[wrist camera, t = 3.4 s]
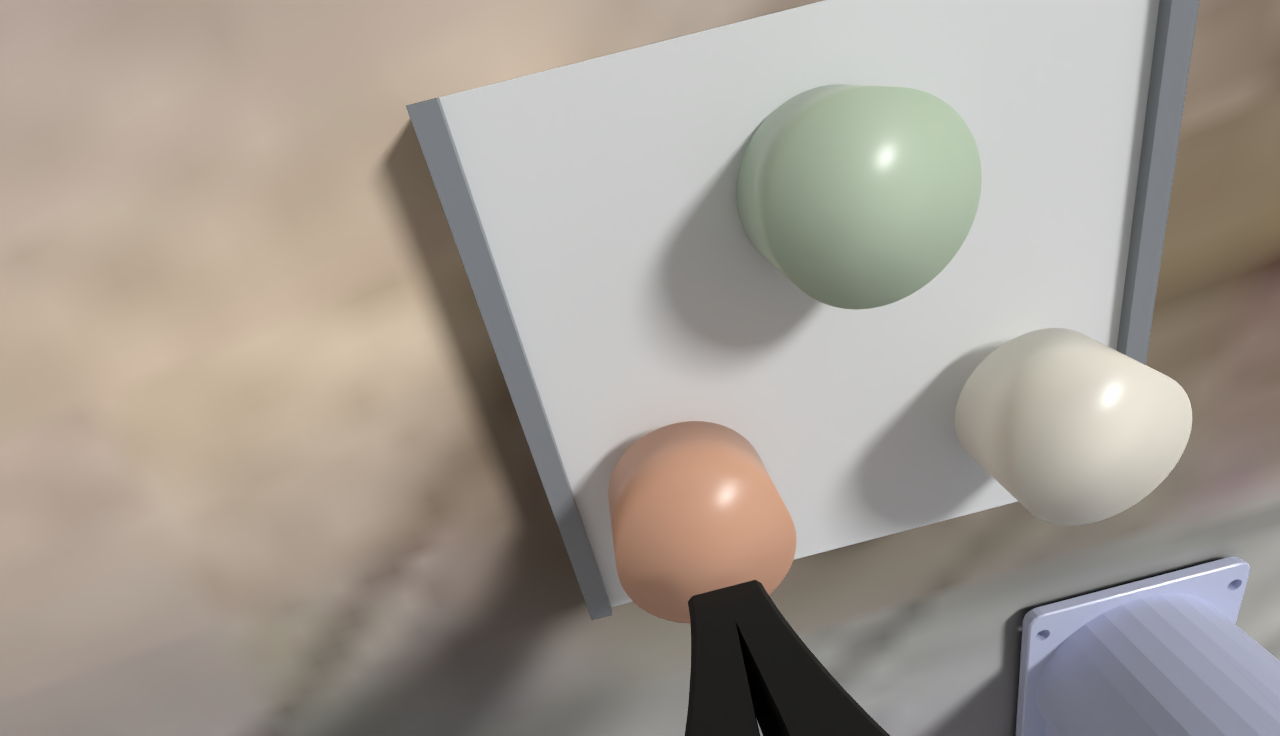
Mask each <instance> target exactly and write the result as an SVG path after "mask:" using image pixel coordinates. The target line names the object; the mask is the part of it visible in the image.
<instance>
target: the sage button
mask: <svg viewBox="0 0 1280 736" xmlns="http://www.w3.org/2000/svg"><path fill="white" fill-rule="evenodd" d="M981 183H982V173H981V162H980V156H979V151H978V148H977V145H976V142H975V139H974V137H973V135H972V133H971V131H970V129H969V127H968V126H967V124H966V123H965V121H964V120H963V119H962V117H961V116H960V115H959V114H958V113H957V112H956V111H955V110H954V109H953V108H952V107H951V106H950V105H948V104H947V103H945V102H944V101H943V100H941V99H940V98H938V97H936V96H934V95H931V94H929V93H927V92H924V91H920V90H917V89H913V88H904V87H890V86H868V85H845V84H839V85H826V86H820V87H816V88H813V89H810V90H807V91H804V92H802V93H800V94H798V95H796V96H794V97H792V98H791V99H789V100H788V101H786V102H785V103H783V104H782V105H780V106H779V107H778V108H777V109H776V110H775V111H773V112H772V113H771V114H770V115H769V116H768V117H767V119H766V120H765V121H764V122H763V123H762V124H761V126H760V127H759V128H758V130H757V131H756V132H755V134H754V135H753V137H752V139H751V141H750V143H749V144H748V146H747V149H746V151H745V153H744V156H743V158H742V162H741V165H740V169H739V173H738V179H737V193H736V197H737V208H738V212H739V217H740V221H741V223H742V226H743V229H744V231H745V233H746V235H747V237H748V238H749V240H750V242H751V243H752V244H753V246H754V247H755V248H756V249H757V250H758V251H759V252H760V253H761V254H762V255H763V256H764V257H765V258H766V259H767V260H768V261H769V262H770V263H771V264H772V265H774V266H775V267H776V268H777V269H778V270H779V271H780V272H781V273H782V274H784V275H785V276H786V277H787V278H788V279H789V280H790V281H791V282H793V283H794V284H795V285H796V286H797V287H798V288H799V289H800V290H802V291H803V292H804V293H806V294H807V295H808V296H810V297H812V298H813V299H815V300H817V301H819V302H821V303H824V304H827V305H830V306H833V307H838V308H843V309H855V310H858V309H871V308H876V307H881V306H885V305H888V304H891V303H894V302H897V301H899V300H901V299H903V298H905V297H908V296H909V295H911V294H913V293H914V292H916V291H918V290H920V289H921V288H922V287H924V286H925V285H926V284H928V283H929V282H930V281H932V280H933V279H934V278H935V277H936V276H937V275H938V274H939V273H940V272H941V271H942V270H943V269H944V268H945V267H946V266H947V265H948V264H949V262H950V261H951V260H952V259H953V257H954V256H955V255H956V253H957V252H958V251H959V249H960V248H961V246H962V244H963V242H964V241H965V239H966V237H967V235H968V233H969V231H970V229H971V226H972V224H973V222H974V219H975V215H976V212H977V209H978V205H979V200H980V195H981Z"/></svg>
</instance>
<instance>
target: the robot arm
mask: <svg viewBox="0 0 1280 736" xmlns="http://www.w3.org/2000/svg"><path fill="white" fill-rule="evenodd" d="M1249 572H1250V566H1249V564H1248V563H1246V562H1245V561H1243V560H1242V559H1241V558H1239V557H1236V556H1234V557H1227V558H1223V559H1220V560H1216V561H1212V562H1208V563H1204V564H1200V565H1197V566H1193V567H1189V568H1185V569H1181V570H1178V571H1174V572H1170V573H1166V574H1162V575H1158V576H1155V577H1151V578H1147V579H1143V580H1139V581H1136V582H1132V583H1128V584H1124V585H1120V586H1117V587H1113V588H1109V589H1105V590H1101V591H1097V592H1094V593H1090V594H1086V595H1082V596H1078V597H1075V598H1071V599H1067V600H1063V601H1059V602H1055V603H1052V604H1048V605H1044V606H1040V607H1036V608H1034V609H1032V610H1030V611H1029V612H1027V614H1026V615H1025V616H1024V620H1023V629H1022V645H1021V660H1020V676H1019V691H1018V707H1017V723H1016V736H1280V661H1279V660H1278V659H1277V658H1276V657H1274V656H1273V655H1272V654H1271V653H1270V652H1268V651H1267V650H1266V649H1265V648H1263V647H1262V646H1261V645H1260V644H1259V643H1257V642H1256V641H1255V640H1254V639H1252V638H1251V637H1250V636H1249V635H1248V634H1246V633H1245V632H1244V631H1243V630H1241V629H1240V628H1239V627H1238V626H1236V625H1235V623H1236V620H1237V616H1238V612H1239V609H1240V605H1241V601H1242V598H1243V594H1244V591H1245V587H1246V583H1247V580H1248V576H1249ZM688 607H689V612H690V622H691V676H690V692H689V705H688V715H687V723H686V731H685V736H760V733H759V728H758V724H757V721H758V723H759V726H760V728H761V731H762V733H763V736H890V735H889V734H888V733H887V732H886V731H885V730H884V729H883V728H882V727H881V726H879V725H878V724H877V723H876V722H875V721H874V720H873V719H872V718H871V717H870V716H869V715H868V714H867V713H866V712H865V711H864V709H863V708H862V707H861V706H860V705H859V704H858V703H857V702H856V701H855V700H854V699H853V698H852V697H851V696H850V695H849V694H848V693H847V692H846V691H845V690H844V689H843V687H842V686H841V685H840V684H839V683H838V682H837V681H836V680H835V679H834V678H833V677H832V675H831V674H830V673H829V672H828V671H827V670H826V668H825V667H824V666H823V665H822V664H821V663H820V662H819V660H818V659H817V658H816V657H815V656H814V655H813V653H812V652H811V651H810V650H809V649H808V648H807V646H806V645H805V644H804V643H803V641H802V640H801V639H800V638H799V636H798V635H797V634H796V633H795V631H794V630H793V629H792V627H791V626H790V625H789V623H788V622H787V621H786V620H785V618H784V617H783V615H782V614H781V613H780V611H779V610H778V608H777V607H776V605H775V604H774V603H773V601H772V599H771V598H770V596H769V595H768V593H767V592H766V590H765V588H764V586H763V585H762V583H761V582H759V581H757V580H752V581H748V582H744V583H741V584H737V585H733V586H729V587H725V588H721V589H717V590H713V591H710V592H706V593H702V594H698V595H694V596H692V597H691V598H690V600H689V601H688ZM756 718H757V719H756Z"/></svg>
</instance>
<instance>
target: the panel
mask: <svg viewBox="0 0 1280 736" xmlns="http://www.w3.org/2000/svg"><path fill="white" fill-rule="evenodd" d="M1198 7H1199V0H825V1H821V2H817V3H813V4H809V5H805V6H801V7H797V8H793V9H789V10H785V11H781V12H777V13H773V14H769V15H765V16H761V17H757V18H753V19H749V20H745V21H741V22H737V23H733V24H729V25H725V26H721V27H717V28H713V29H709V30H705V31H702V32H698V33H694V34H690V35H686V36H682V37H678V38H674V39H670V40H666V41H662V42H658V43H654V44H650V45H646V46H642V47H638V48H634V49H630V50H626V51H622V52H618V53H614V54H610V55H606V56H602V57H598V58H594V59H590V60H586V61H582V62H578V63H574V64H570V65H566V66H562V67H558V68H554V69H550V70H546V71H542V72H538V73H534V74H530V75H526V76H522V77H518V78H514V79H510V80H506V81H503V82H499V83H495V84H491V85H487V86H483V87H479V88H475V89H471V90H467V91H463V92H459V93H455V94H451V95H447V96H443V97H439V98H434V99H431V100H427V101H423V102H419V103H415V104H411V105H407V106H406V108H407V110H408V113H409V116H410V119H411V122H412V124H413V127H414V130H415V133H416V135H417V138H418V141H419V144H420V146H421V149H422V152H423V155H424V157H425V160H426V163H427V166H428V169H429V171H430V174H431V177H432V180H433V182H434V185H435V188H436V191H437V193H438V196H439V199H440V202H441V204H442V207H443V210H444V213H445V216H446V218H447V221H448V224H449V227H450V229H451V232H452V235H453V238H454V240H455V243H456V246H457V249H458V252H459V254H460V257H461V260H462V263H463V265H464V268H465V271H466V274H467V276H468V279H469V282H470V285H471V287H472V290H473V293H474V296H475V299H476V301H477V304H478V307H479V310H480V312H481V315H482V318H483V321H484V323H485V326H486V329H487V332H488V334H489V337H490V340H491V343H492V346H493V348H494V351H495V354H496V357H497V359H498V362H499V365H500V368H501V370H502V373H503V376H504V379H505V382H506V384H507V387H508V390H509V393H510V395H511V398H512V401H513V404H514V406H515V409H516V412H517V415H518V417H519V420H520V423H521V426H522V429H523V431H524V434H525V437H526V440H527V442H528V445H529V448H530V451H531V453H532V456H533V459H534V462H535V465H536V467H537V470H538V473H539V476H540V478H541V481H542V484H543V487H544V489H545V492H546V495H547V498H548V500H549V503H550V506H551V509H552V512H553V514H554V517H555V520H556V523H557V525H558V528H559V531H560V534H561V536H562V539H563V542H564V545H565V547H566V550H567V553H568V556H569V559H570V561H571V564H572V567H573V570H574V572H575V575H576V578H577V581H578V583H579V586H580V589H581V592H582V595H583V597H584V600H585V603H586V606H587V608H588V611H589V614H590V617H591V619H592V620H595V619H599V618H603V617H607V616H610V615H612V609H611V607H614V606H617V605H621V604H625V603H629V602H633V601H632V600H631V599H630V597H629V596H628V595H627V594H626V592H625V591H624V589H623V587H622V585H621V583H620V580H619V578H618V573H617V568H616V560H615V551H614V543H613V535H612V526H611V518H610V509H609V500H608V489H609V482H610V479H611V475H612V473H613V470H614V468H615V466H616V464H617V463H618V461H619V459H620V458H621V457H622V455H623V454H624V453H625V452H626V451H627V450H628V449H629V448H630V447H631V446H632V445H633V444H634V443H635V442H636V441H638V440H639V439H640V438H642V437H643V436H645V435H647V434H648V433H650V432H652V431H654V430H656V429H659V428H661V427H664V426H667V425H670V424H674V423H679V422H687V421H704V422H711V423H716V424H719V425H723V426H725V427H728V428H730V429H732V430H734V431H736V432H737V433H739V434H741V435H742V436H743V437H744V438H746V439H747V440H748V441H749V442H750V443H751V445H752V446H753V447H754V448H755V450H756V451H757V453H758V455H759V456H760V458H761V460H762V462H763V464H764V466H765V468H766V470H767V472H768V474H769V476H770V477H771V479H772V481H773V483H774V485H775V487H776V489H777V491H778V493H779V495H780V496H781V498H782V500H783V502H784V504H785V506H786V508H787V510H788V512H789V514H790V516H791V518H792V520H793V523H794V526H795V530H796V541H797V542H796V551H795V555H794V559H798V558H802V557H806V556H810V555H813V554H817V553H821V552H825V551H829V550H833V549H836V548H840V547H844V546H848V545H852V544H856V543H859V542H863V541H867V540H871V539H875V538H879V537H883V536H886V535H890V534H894V533H898V532H902V531H906V530H909V529H913V528H917V527H921V526H925V525H929V524H932V523H936V522H940V521H944V520H948V519H952V518H956V517H959V516H963V515H967V514H971V513H975V512H979V511H982V510H986V509H990V508H994V507H998V506H1002V505H1005V504H1009V503H1013V502H1017V501H1018V500H1017V499H1015V498H1014V497H1013V496H1012V495H1011V494H1010V493H1009V492H1008V491H1007V490H1006V489H1005V488H1004V487H1003V486H1002V485H1000V484H999V483H998V482H997V481H996V480H995V479H994V478H993V477H992V476H991V475H990V474H989V473H988V472H987V471H985V470H984V469H983V468H982V467H981V466H980V465H979V464H978V463H977V462H976V461H975V460H974V459H973V458H971V457H970V456H969V455H968V454H967V453H966V452H965V451H964V449H963V448H962V446H961V445H960V443H959V440H958V438H957V435H956V431H955V422H954V420H955V410H956V405H957V402H958V399H959V396H960V393H961V391H962V389H963V387H964V385H965V383H966V382H967V380H968V379H969V377H970V375H971V374H972V373H973V372H974V370H975V369H976V368H977V366H978V365H979V364H980V363H981V362H982V361H983V360H984V359H985V358H986V357H987V356H989V355H990V354H991V353H992V352H993V351H995V350H996V349H997V348H999V347H1000V346H1002V345H1003V344H1005V343H1006V342H1008V341H1010V340H1012V339H1014V338H1016V337H1018V336H1020V335H1023V334H1025V333H1028V332H1032V331H1035V330H1040V329H1045V328H1065V329H1070V330H1074V331H1077V332H1079V333H1082V334H1084V335H1086V336H1088V337H1090V338H1092V339H1094V340H1096V341H1098V342H1100V343H1102V344H1104V345H1106V346H1108V347H1110V348H1112V349H1114V350H1116V351H1118V352H1120V353H1122V354H1124V355H1126V356H1128V357H1130V358H1132V359H1134V360H1136V361H1138V362H1140V363H1142V364H1144V365H1146V358H1147V351H1148V344H1149V338H1150V331H1151V324H1152V317H1153V311H1154V304H1155V297H1156V290H1157V284H1158V277H1159V270H1160V263H1161V257H1162V250H1163V243H1164V236H1165V230H1166V223H1167V216H1168V209H1169V203H1170V196H1171V189H1172V182H1173V176H1174V169H1175V162H1176V155H1177V149H1178V142H1179V135H1180V128H1181V121H1182V115H1183V108H1184V101H1185V94H1186V88H1187V81H1188V74H1189V67H1190V61H1191V54H1192V47H1193V40H1194V34H1195V27H1196V20H1197V13H1198ZM839 84H845V85H868V86H890V87H904V88H913V89H917V90H920V91H924V92H927V93H929V94H931V95H934V96H936V97H938V98H940V99H941V100H943V101H944V102H945V103H947V104H948V105H950V106H951V107H952V108H953V109H954V110H955V111H956V112H957V113H958V114H959V115H960V116H961V117H962V119H963V120H964V121H965V123H966V124H967V126H968V127H969V129H970V131H971V133H972V135H973V137H974V139H975V142H976V145H977V148H978V151H979V156H980V162H981V173H982V183H981V195H980V200H979V205H978V209H977V212H976V215H975V219H974V222H973V224H972V226H971V229H970V231H969V233H968V235H967V237H966V239H965V241H964V242H963V244H962V246H961V248H960V249H959V251H958V252H957V253H956V255H955V256H954V257H953V259H952V260H951V261H950V262H949V264H948V265H947V266H946V267H945V268H944V269H943V270H942V271H941V272H940V273H939V274H938V275H937V276H936V277H935V278H934V279H933V280H932V281H930V282H929V283H928V284H926V285H925V286H924V287H922V288H921V289H920V290H918V291H916V292H914V293H913V294H911V295H909V296H908V297H905V298H903V299H901V300H899V301H897V302H894V303H891V304H888V305H885V306H881V307H876V308H871V309H858V310H855V309H843V308H838V307H833V306H830V305H827V304H824V303H821V302H819V301H817V300H815V299H813V298H812V297H810V296H808V295H807V294H806V293H804V292H803V291H802V290H800V289H799V288H798V287H797V286H796V285H795V284H794V283H793V282H791V281H790V280H789V279H788V278H787V277H786V276H785V275H784V274H782V273H781V272H780V271H779V270H778V269H777V268H776V267H775V266H774V265H772V264H771V263H770V262H769V261H768V260H767V259H766V258H765V257H764V256H763V255H762V254H761V253H760V252H759V251H758V250H757V249H756V248H755V247H754V246H753V244H752V243H751V242H750V240H749V238H748V237H747V235H746V233H745V231H744V229H743V226H742V223H741V221H740V217H739V212H738V208H737V197H736V193H737V179H738V173H739V169H740V165H741V162H742V158H743V156H744V153H745V151H746V149H747V146H748V144H749V143H750V141H751V139H752V137H753V135H754V134H755V132H756V131H757V130H758V128H759V127H760V126H761V124H762V123H763V122H764V121H765V120H766V119H767V117H768V116H769V115H770V114H771V113H772V112H773V111H775V110H776V109H777V108H778V107H779V106H780V105H782V104H783V103H785V102H786V101H788V100H789V99H791V98H792V97H794V96H796V95H798V94H800V93H802V92H804V91H807V90H810V89H813V88H816V87H820V86H826V85H839ZM794 559H793V560H794Z"/></svg>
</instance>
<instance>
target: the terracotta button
mask: <svg viewBox="0 0 1280 736" xmlns="http://www.w3.org/2000/svg"><path fill="white" fill-rule="evenodd" d="M608 500H609V509H610V518H611V526H612V535H613V543H614V551H615V560H616V568H617V573H618V578H619V580H620V583H621V585H622V587H623V589H624V591H625V592H626V594H627V595H628V596H629V597H630V599H631V600H632V601H633V602H634V603H635V604H637V605H638V606H639V607H640V608H642V609H643V610H645V611H647V612H648V613H650V614H652V615H654V616H657V617H659V618H662V619H666V620H669V621H674V622H681V623H691V622H690V612H689V607H688V601H689V600H690V598H691V597H692V596H694V595H698V594H702V593H706V592H710V591H713V590H717V589H721V588H725V587H729V586H733V585H737V584H741V583H744V582H748V581H752V580H757V581H759V582H761V583H762V585H763V586H764V588H765V590H766V592H767V593H768V595H770V594H771V593H772V592H773V591H774V590H775V589H776V588H777V587H778V585H779V584H780V583H781V581H782V580H783V579H784V578H785V576H786V574H787V572H788V571H789V569H790V567H791V564H792V562H793V559H794V555H795V551H796V542H797V541H796V530H795V526H794V523H793V520H792V518H791V516H790V514H789V512H788V510H787V508H786V506H785V504H784V502H783V500H782V498H781V496H780V495H779V493H778V491H777V489H776V487H775V485H774V483H773V481H772V479H771V477H770V476H769V474H768V472H767V470H766V468H765V466H764V464H763V462H762V460H761V458H760V456H759V455H758V453H757V451H756V450H755V448H754V447H753V446H752V445H751V443H750V442H749V441H748V440H747V439H746V438H744V437H743V436H742V435H741V434H739V433H737V432H736V431H734V430H732V429H730V428H728V427H725V426H723V425H719V424H716V423H711V422H704V421H687V422H679V423H674V424H670V425H667V426H664V427H661V428H659V429H656V430H654V431H652V432H650V433H648V434H647V435H645V436H643V437H642V438H640V439H639V440H638V441H636V442H635V443H634V444H633V445H632V446H631V447H630V448H629V449H628V450H627V451H626V452H625V453H624V454H623V455H622V457H621V458H620V459H619V461H618V463H617V464H616V466H615V468H614V470H613V473H612V475H611V479H610V482H609V489H608Z"/></svg>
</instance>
